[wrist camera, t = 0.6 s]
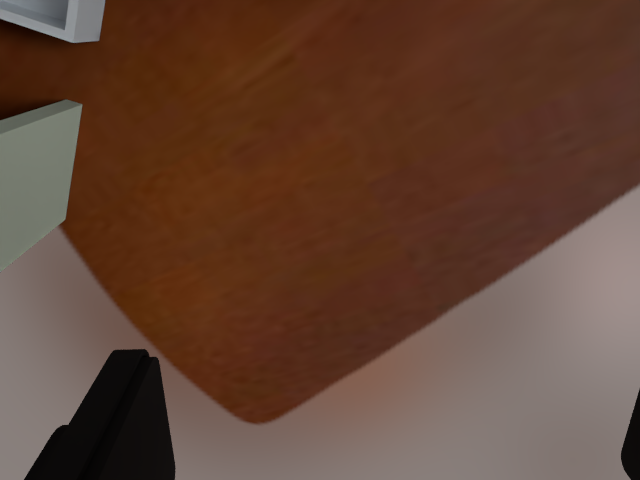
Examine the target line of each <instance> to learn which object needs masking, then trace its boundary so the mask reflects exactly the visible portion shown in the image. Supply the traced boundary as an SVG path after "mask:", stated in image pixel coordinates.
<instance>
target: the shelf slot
mask: <svg viewBox="0 0 640 480" xmlns="http://www.w3.org/2000/svg"><path fill="white" fill-rule="evenodd" d="M81 110H82V104H79V103H76V102H73V101H70V100H67V99H66V100H63V101H60V102H57V103H54V104H51V105H47V106H44V107H41V108H38V109H35V110H32V111H29V112H25V113H22V114H19V115H16V116H13V117H10V118H7V119H4V120H0V272H1V271H2V270H4V269H5V268H6V267H7V266H8V265H10V264H11V263H12V262H13V261H15V260H16V259H17V258H18V257H20V256H21V255H22V254H23V253H24V252H26V251H27V250H28V249H30V248H31V247H32V246H33V245H34V244H36V243H37V242H38V241H39V240H41V239H42V238H43V237H44V236H46V235H47V234H48V233H49V232H51V231H52V230H53V229H54V228H55V227H57V226H58V225H59V224H60V223H62V222H63V221H64V220H65V218H66V211H67V204H68V198H69V191H70V184H71V177H72V171H73V164H74V157H75V151H76V144H77V137H78V130H79V124H80V117H81Z"/></svg>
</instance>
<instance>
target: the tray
mask: <svg viewBox="0 0 640 480" xmlns="http://www.w3.org/2000/svg"><path fill="white" fill-rule="evenodd" d="M104 5H105V0H0V19H3V20H6V21H9V22H12V23H15V24H18V25H21V26H24V27H27V28H30V29H33V30H36V31H39V32H42V33H45V34H48V35H51V36H54V37H57V38H60V39H63V40H66V41H69V42H72V43H78V42H90V41H99V38H100V31H101V25H102V18H103V12H104Z"/></svg>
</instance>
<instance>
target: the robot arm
mask: <svg viewBox="0 0 640 480" xmlns="http://www.w3.org/2000/svg"><path fill="white" fill-rule="evenodd" d="M621 460H622V465H623V467H624V470H625V472H626V473H627V475H628V476H629V477H630V479H631V480H640V390H639V393H638V396H637V400H636V403H635V407H634V410H633V413H632V417H631V420H630V424H629V427H628V431H627V434H626V437H625V441H624V444H623V448H622V451H621ZM24 480H175V461H174V454H173V448H172V442H171V435H170V429H169V423H168V416H167V409H166V403H165V396H164V390H163V384H162V377H161V371H160V365H159V360H158V358H157V357H149V353H148V352H147V350H145V349H138V350H137V349H133V350H114V351H113V352H112V353H111V354H110V356H109V357H108V359H107V361H106V363H105V364H104V366H103V368H102V369H101V371H100V373H99V374H98V376H97V378H96V379H95V381H94V383H93V384H92V386H91V388H90V389H89V391H88V393H87V394H86V396H85V398H84V399H83V401H82V403H81V404H80V406H79V408H78V410H77V411H76V413H75V415H74V416H73V418H72V420H71V421H70V423H69V425H62V426H60V427H59V428H57V429H56V430H55V432H54V433H53V434H52V435H51V437H50V439H49V440H48V442H47V443H46V445H45V447H44V449H43V450H42V452H41V453H40V455H39V457H38V458H37V460H36V461H35V463H34V465H33V466H32V468H31V469H30V471H29V472H28V474H27V476H26V477H25V479H24Z"/></svg>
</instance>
